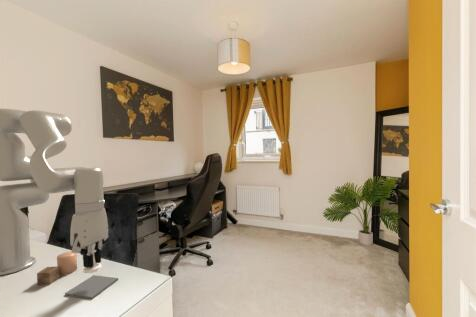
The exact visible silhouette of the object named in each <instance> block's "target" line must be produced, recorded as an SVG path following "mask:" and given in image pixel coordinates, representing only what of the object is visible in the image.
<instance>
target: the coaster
mask: <svg viewBox="0 0 476 317" xmlns="http://www.w3.org/2000/svg"><path fill="white" fill-rule="evenodd" d="M118 280H119V277H114V276H113V277H112V276H111V277H110V276H103V275H96V274H95V275H94V274H93V275H92V276H90V277H88V278H86V279H85V280H83V281H82V282H80V283H79V284H77V285H76V286H74V287H72V288H71V289H70V290H68V291H66V292H65V293H64V295H65V296H67V297H68V296H69V297H76V298H80V299H81V298H83V299H88V300H93V299H95V298H96V297H97V296H99V295H100V294H101V293H103V292H104V291H106V290H107V289H108V288H110V287H111V286H113V284H115V283H116V282H118Z"/></svg>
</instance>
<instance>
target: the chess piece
mask: <svg viewBox="0 0 476 317" xmlns="http://www.w3.org/2000/svg"><path fill="white" fill-rule="evenodd" d="M95 245H96V243H93V244H91V254H93V265H94V266H93V267H92V268H89V267H84V268H83V269H82V270H83V271H82V273H84V274H92V273H96V272H98V271H99V270H101V269H102V267H103V266H102V264H101V263H96V262H95V256H94V252H96V250H94V248H95Z"/></svg>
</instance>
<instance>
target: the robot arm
mask: <svg viewBox="0 0 476 317" xmlns="http://www.w3.org/2000/svg"><path fill="white" fill-rule="evenodd" d="M72 129H73V125H72V122H71V120H70V119H69V118H68V116H66V115H65V114H62V113H57V112H50V111H49V112H48V111H44V110H20V109H13V108H0V182H15V181H27V180H30V182H24V183H23V182H22V183H14V184H13V183H12V184H4V185H0V276H3V275H4V276H5V275H9V274H14V273H16V272H20V271H23V270H25V269H27V268H29V267H31V266H33V265H34V264H35V263H36V261H37V260H36V259H37V258H36V257H34V256H31V242H30V221H29V217H28V216H27V214H25V213H24V212H23V211H22V210H21V209H23V208H27V207H28V208H29V207H32V206H38V205H42V204H45V203H46V202H47V201H48V200H49V197H50V194H58V193H65V192H72V191H74V209H75V213H73V214H72V217H71V221H70V230H69V232H70V235H69V236H70V237H69V240H70V242H69V244H70V247H71V251H70V252H72V253H76V254H80V255H81V256H82V263H83V267H84V268H85V267H89V268H92V267H93V266H94V265H93V254H91V244H93V243H96V245H95V248H94V250H96V252H94V256H95V262H96V263H99V264H101V262H102V254H101V253H102V252H101V251H102V250H103V245H104V243H105V242H106V240H107V239H108V238H109V223H108V222H109V221H108V215H107V211H106V208H105V203H106V201H105V199H104V177H103V176H104V175H103V174H104V173H103V170H102V169H101V168H99V167H85V166H84V167H83V166H82V167H81V166H79V167H77V166H76V167H60V168H59V167H58V168H52V167H51V166H50V165H49V163H48V161H47V159H50V158H52V157H55V156H57V155H58V154H61V153H62V152H63V151H64V150H66V148H67V145H68V142H67V141H66V139H65V137H66V136H68V135H69V134H71V132H72V131H73V130H72ZM17 134H25V135H26V136H27V138H28V139H29V141H30V143H31V145H32V146H33V147H34V149H35V150H34V151H33V153H32V155H26V146H25V143H24V141H23V140H22V139H21V138H20V137H19V135H17Z"/></svg>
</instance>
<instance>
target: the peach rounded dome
mask: <svg viewBox="0 0 476 317" xmlns="http://www.w3.org/2000/svg"><path fill="white" fill-rule="evenodd" d="M56 265H57V266H56V267H59V276H66V275H71V274H72V273H74V272H76V271H77V270H78V259H77V253H72V252H71V251H68V252H67V251H66V252H64V253H61V254H59V255H57V257H56Z"/></svg>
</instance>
